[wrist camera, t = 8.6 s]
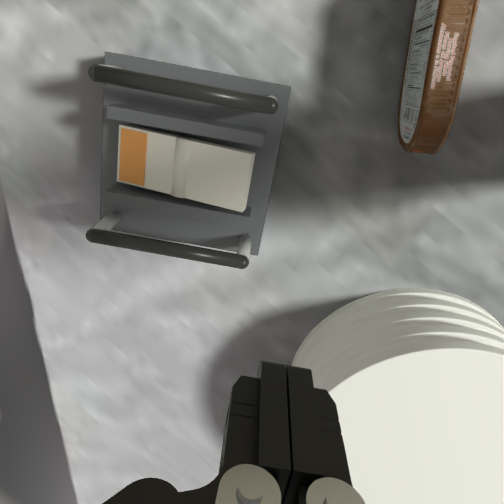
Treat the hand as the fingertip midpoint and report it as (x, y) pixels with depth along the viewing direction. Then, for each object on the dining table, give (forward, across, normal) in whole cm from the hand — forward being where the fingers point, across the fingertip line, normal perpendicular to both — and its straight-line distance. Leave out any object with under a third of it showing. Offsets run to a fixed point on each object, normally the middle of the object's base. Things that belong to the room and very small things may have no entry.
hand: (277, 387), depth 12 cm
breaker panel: (+32, +8, 0) cm, 33 cm away
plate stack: (+32, -21, +24) cm, 46 cm away
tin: (+32, -11, -12) cm, 36 cm away
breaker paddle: (+26, +8, 0) cm, 27 cm away
